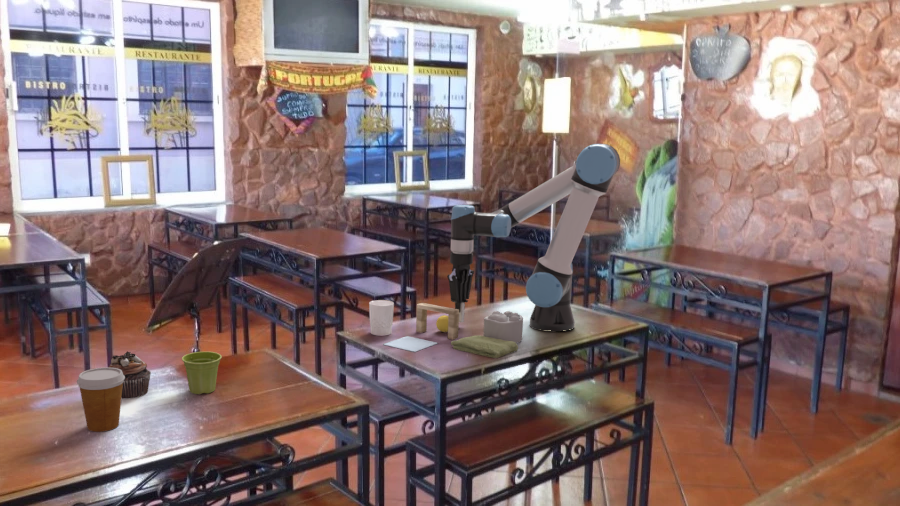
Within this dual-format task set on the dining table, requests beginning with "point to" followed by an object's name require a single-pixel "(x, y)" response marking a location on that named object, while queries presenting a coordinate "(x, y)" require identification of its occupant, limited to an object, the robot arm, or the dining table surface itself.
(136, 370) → the cupcake
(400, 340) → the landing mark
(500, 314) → the grey filled box
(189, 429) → the dining table surface
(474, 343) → the washcloth
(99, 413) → the disposable coffee cup
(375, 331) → the white cup
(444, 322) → the ball
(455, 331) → the bridge
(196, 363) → the plant pot
